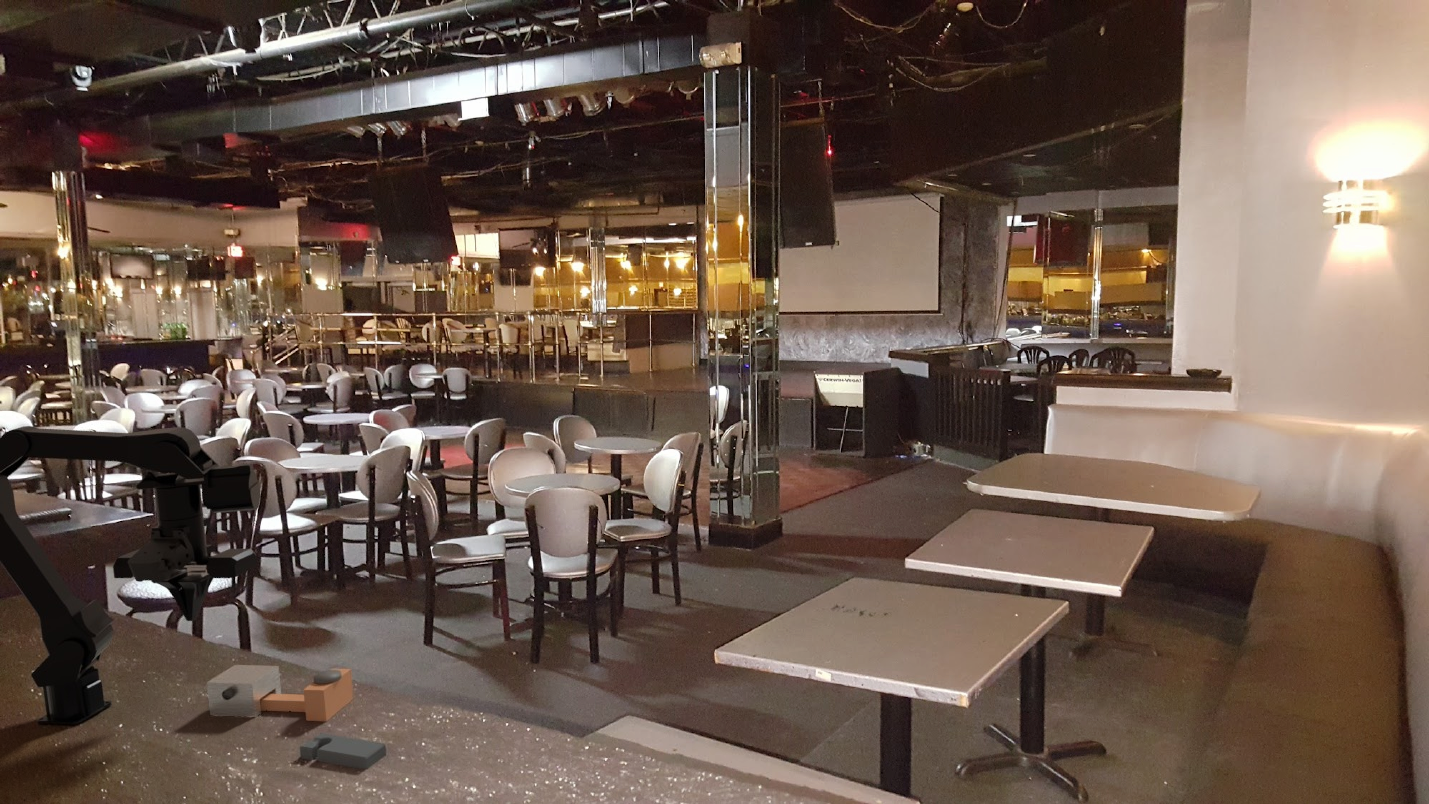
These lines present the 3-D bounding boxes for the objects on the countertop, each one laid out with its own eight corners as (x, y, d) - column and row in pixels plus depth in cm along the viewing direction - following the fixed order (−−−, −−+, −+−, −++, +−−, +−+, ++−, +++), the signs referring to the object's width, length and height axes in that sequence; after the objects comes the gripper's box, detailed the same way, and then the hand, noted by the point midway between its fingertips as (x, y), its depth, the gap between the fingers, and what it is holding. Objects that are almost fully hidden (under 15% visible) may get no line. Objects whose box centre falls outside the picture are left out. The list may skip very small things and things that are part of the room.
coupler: (240, 718, 127) (236, 683, 126) (271, 696, 134) (268, 663, 133) (328, 721, 125) (325, 686, 124) (355, 698, 132) (352, 665, 131)
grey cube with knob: (206, 719, 127) (202, 685, 127) (238, 697, 134) (234, 664, 133) (252, 720, 126) (248, 686, 126) (281, 698, 133) (278, 666, 132)
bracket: (366, 773, 112) (365, 758, 111) (299, 761, 115) (298, 746, 115) (387, 757, 115) (386, 742, 115) (322, 746, 119) (321, 732, 119)
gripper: (76, 531, 124) (89, 641, 125) (203, 530, 122) (215, 642, 123) (136, 511, 135) (147, 612, 136) (254, 510, 133) (264, 613, 134)
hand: (191, 620), depth 132 cm, fingers closed
